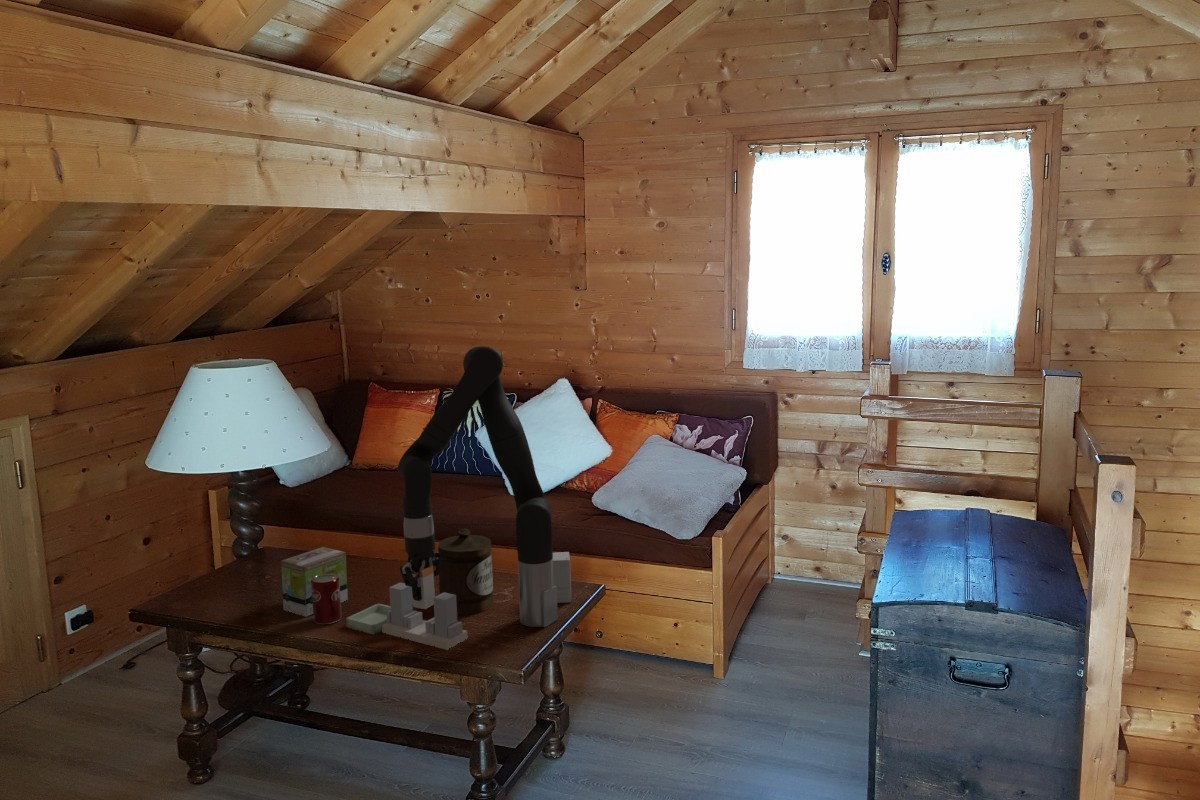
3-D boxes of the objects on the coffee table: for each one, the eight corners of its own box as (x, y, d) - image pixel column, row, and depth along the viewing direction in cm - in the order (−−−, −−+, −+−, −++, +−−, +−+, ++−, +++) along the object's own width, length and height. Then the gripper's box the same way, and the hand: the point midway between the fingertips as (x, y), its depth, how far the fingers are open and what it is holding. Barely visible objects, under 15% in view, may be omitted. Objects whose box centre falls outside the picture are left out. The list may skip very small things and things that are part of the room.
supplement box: (571, 593, 268) (570, 551, 266) (571, 603, 261) (570, 559, 259) (545, 594, 268) (544, 552, 266) (544, 604, 260) (543, 560, 258)
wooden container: (483, 616, 252) (480, 538, 249) (432, 613, 255) (428, 535, 252) (500, 596, 267) (497, 522, 263) (451, 593, 270) (447, 520, 266)
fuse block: (467, 638, 238) (465, 593, 236) (447, 650, 231) (445, 603, 229) (403, 622, 249) (401, 579, 248) (382, 632, 243) (379, 588, 241)
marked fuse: (435, 603, 240) (433, 566, 238) (425, 609, 236) (422, 571, 234) (423, 601, 242) (420, 564, 240) (412, 606, 238) (410, 569, 236)
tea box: (307, 618, 253) (303, 566, 251) (283, 611, 259) (279, 560, 256) (349, 600, 266) (346, 550, 264) (325, 594, 271) (322, 545, 269)
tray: (406, 618, 252) (405, 609, 251) (373, 634, 242) (373, 625, 241) (378, 611, 257) (378, 603, 256) (346, 627, 247) (345, 618, 246)
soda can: (313, 627, 247) (310, 583, 245) (314, 616, 254) (311, 574, 252) (341, 623, 249) (339, 580, 247) (341, 613, 256) (339, 571, 254)
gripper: (411, 542, 228) (416, 609, 231) (448, 526, 240) (453, 590, 243) (388, 538, 232) (393, 604, 234) (426, 523, 244) (431, 585, 246)
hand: (423, 596), depth 238 cm, fingers closed on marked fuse, 4 cm apart
